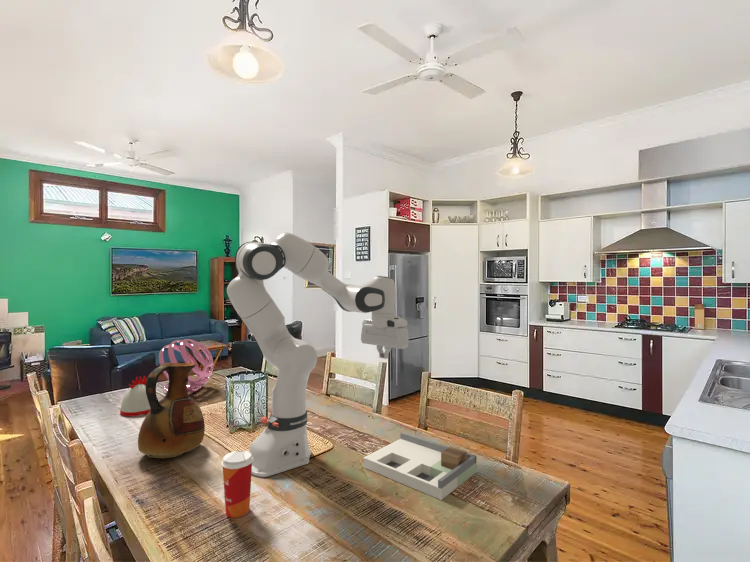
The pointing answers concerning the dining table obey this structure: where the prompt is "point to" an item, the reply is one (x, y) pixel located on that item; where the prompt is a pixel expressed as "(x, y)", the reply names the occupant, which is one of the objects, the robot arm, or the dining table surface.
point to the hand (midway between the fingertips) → (383, 358)
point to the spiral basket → (190, 359)
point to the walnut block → (452, 457)
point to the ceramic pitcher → (171, 415)
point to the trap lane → (419, 465)
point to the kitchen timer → (135, 399)
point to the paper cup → (237, 482)
